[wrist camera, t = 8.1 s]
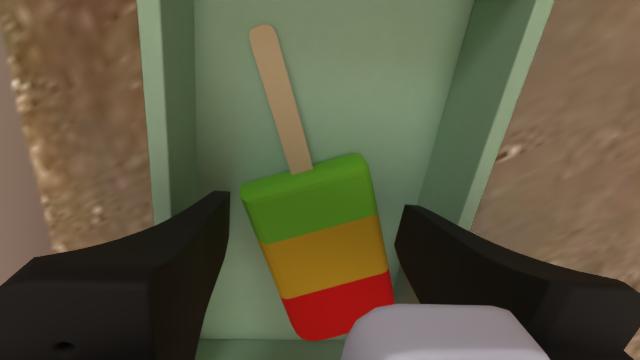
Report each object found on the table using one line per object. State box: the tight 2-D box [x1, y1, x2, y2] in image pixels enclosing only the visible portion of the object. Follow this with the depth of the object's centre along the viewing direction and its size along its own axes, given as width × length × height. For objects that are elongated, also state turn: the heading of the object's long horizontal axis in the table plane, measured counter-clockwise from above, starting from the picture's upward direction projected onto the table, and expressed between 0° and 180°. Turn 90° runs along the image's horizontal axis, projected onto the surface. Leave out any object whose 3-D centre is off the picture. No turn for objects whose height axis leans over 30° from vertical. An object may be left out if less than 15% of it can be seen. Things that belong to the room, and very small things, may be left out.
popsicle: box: [239, 25, 395, 341], centre depth 14 cm, size 6×15×2 cm, turn 14°
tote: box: [137, 0, 554, 360], centre depth 13 cm, size 20×12×4 cm, turn 172°
